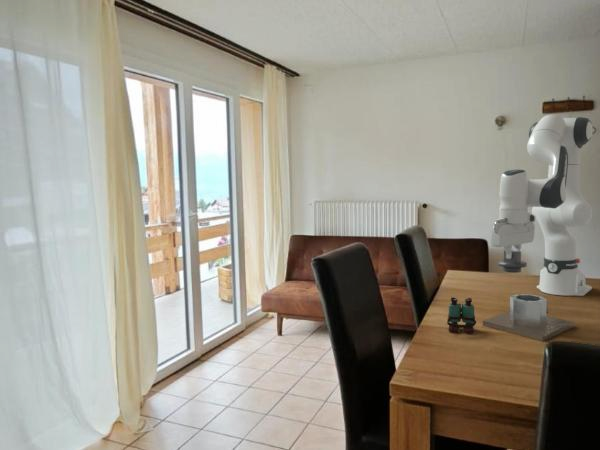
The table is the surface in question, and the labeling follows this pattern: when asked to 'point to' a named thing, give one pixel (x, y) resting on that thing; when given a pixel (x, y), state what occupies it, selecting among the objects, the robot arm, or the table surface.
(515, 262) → the grey dial knob
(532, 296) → the square base plate
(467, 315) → the binoculars
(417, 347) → the table surface
